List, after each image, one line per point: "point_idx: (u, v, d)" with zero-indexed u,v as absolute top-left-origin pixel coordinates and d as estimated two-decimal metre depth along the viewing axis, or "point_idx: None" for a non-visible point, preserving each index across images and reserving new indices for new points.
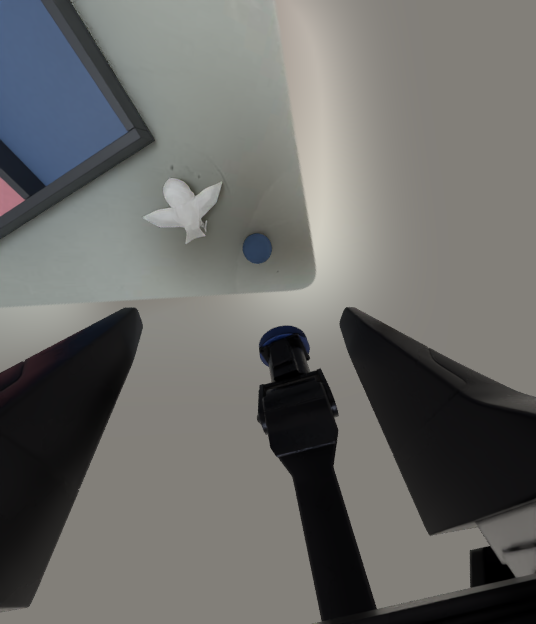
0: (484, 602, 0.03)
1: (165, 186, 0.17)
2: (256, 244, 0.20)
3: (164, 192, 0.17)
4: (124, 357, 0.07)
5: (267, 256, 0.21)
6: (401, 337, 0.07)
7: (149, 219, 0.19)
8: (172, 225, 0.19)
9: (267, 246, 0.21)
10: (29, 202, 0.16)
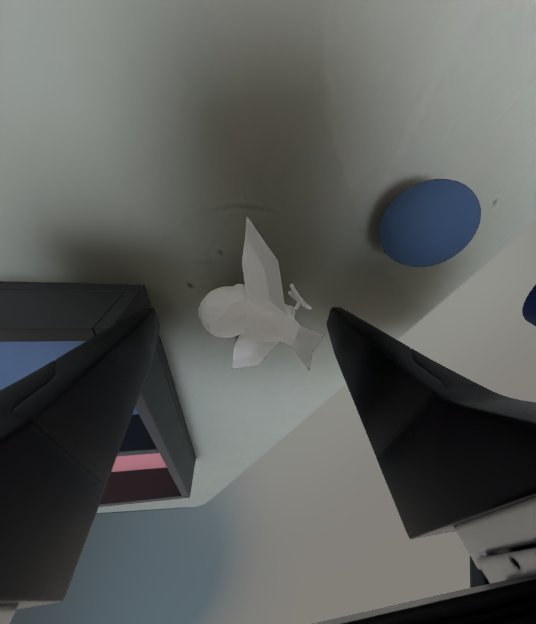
0: (484, 602, 0.03)
1: (205, 327, 0.09)
2: (430, 227, 0.07)
3: (213, 334, 0.09)
4: (145, 356, 0.08)
5: (479, 214, 0.07)
6: (384, 337, 0.07)
7: (240, 365, 0.11)
8: (265, 351, 0.10)
9: (461, 197, 0.06)
10: (162, 452, 0.13)
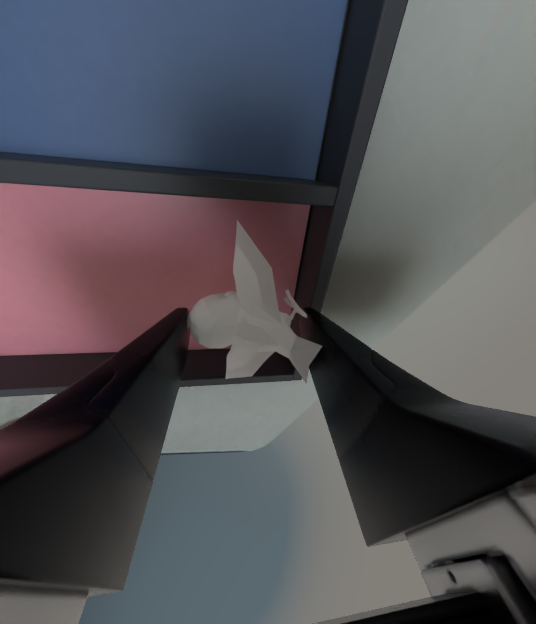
0: (484, 602, 0.03)
1: (195, 338, 0.08)
2: None
3: (204, 344, 0.09)
4: (181, 355, 0.08)
5: None
6: (347, 338, 0.07)
7: (233, 375, 0.11)
8: (259, 361, 0.09)
9: None
10: (342, 201, 0.07)
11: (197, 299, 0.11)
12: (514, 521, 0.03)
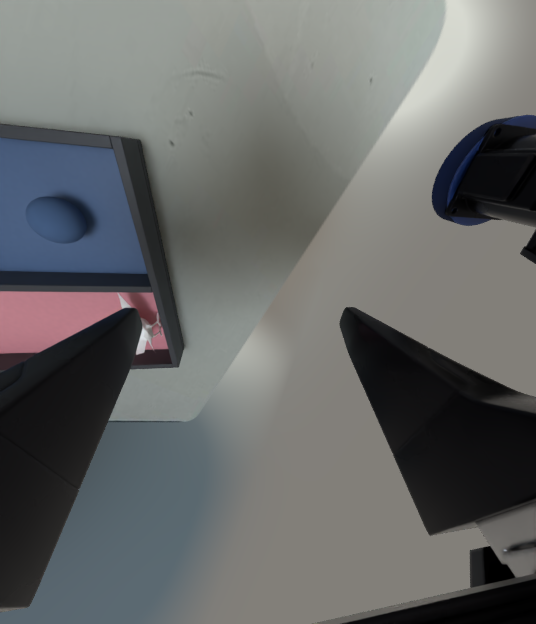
0: (484, 602, 0.03)
1: None
2: None
3: None
4: (124, 357, 0.08)
5: (28, 214, 0.13)
6: (401, 337, 0.07)
7: (138, 352, 0.22)
8: (144, 345, 0.21)
9: None
10: (155, 291, 0.18)
11: None
12: None
